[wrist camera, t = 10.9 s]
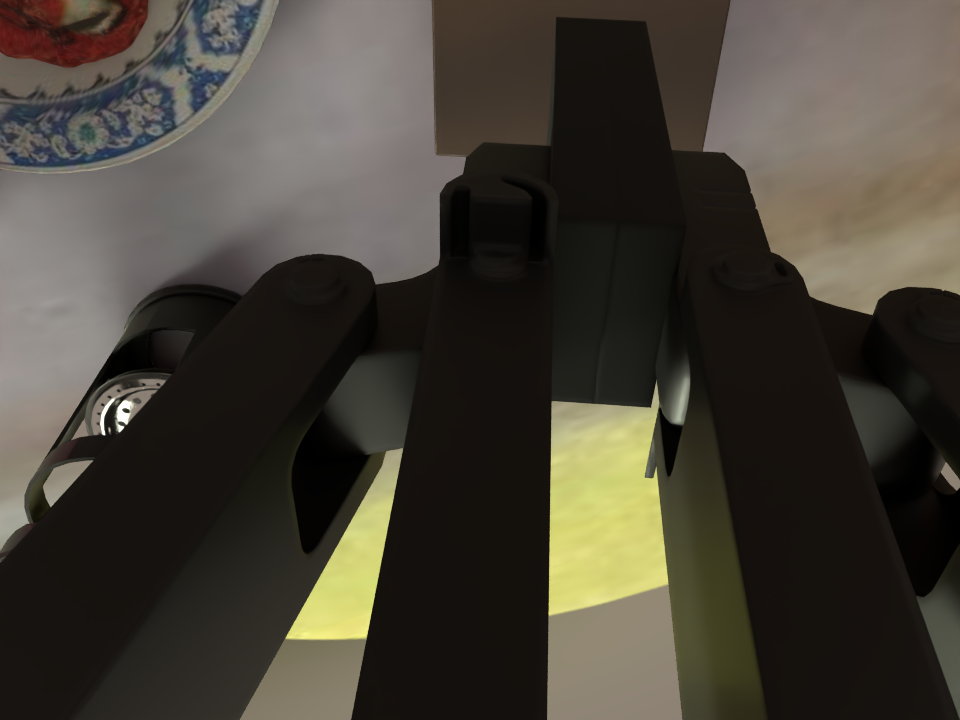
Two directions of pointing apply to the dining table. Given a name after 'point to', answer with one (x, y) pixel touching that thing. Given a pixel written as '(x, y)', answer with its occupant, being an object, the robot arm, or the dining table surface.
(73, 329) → the dining table surface
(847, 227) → the dining table surface
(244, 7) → the ceramic plate
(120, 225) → the dining table surface
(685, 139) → the walnut block
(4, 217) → the dining table surface
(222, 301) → the french press
